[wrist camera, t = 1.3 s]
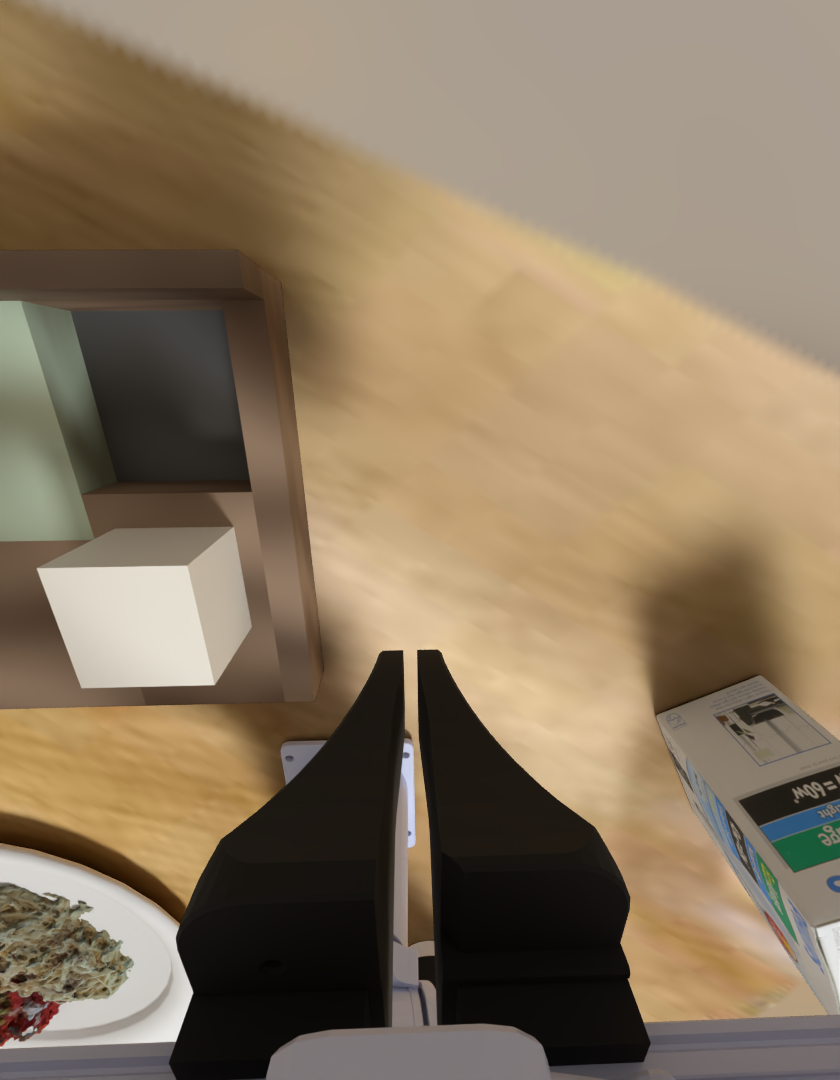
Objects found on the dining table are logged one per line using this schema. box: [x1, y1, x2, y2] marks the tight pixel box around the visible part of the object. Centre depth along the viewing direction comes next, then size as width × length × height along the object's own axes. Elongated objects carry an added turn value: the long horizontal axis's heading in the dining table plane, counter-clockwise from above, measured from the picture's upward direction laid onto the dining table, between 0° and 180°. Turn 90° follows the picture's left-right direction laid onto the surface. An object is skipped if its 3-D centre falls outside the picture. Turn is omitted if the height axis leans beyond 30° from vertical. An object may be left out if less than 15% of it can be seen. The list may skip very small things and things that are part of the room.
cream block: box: [37, 527, 252, 688], centre depth 17 cm, size 5×5×4 cm
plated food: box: [0, 843, 193, 1049], centre depth 31 cm, size 30×30×3 cm
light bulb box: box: [656, 675, 840, 1015], centre depth 22 cm, size 11×7×11 cm, turn 28°
